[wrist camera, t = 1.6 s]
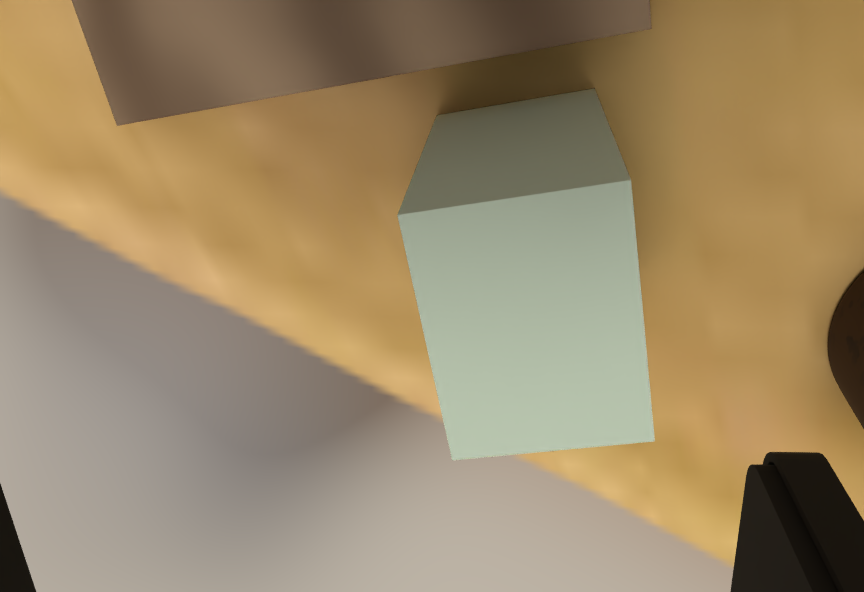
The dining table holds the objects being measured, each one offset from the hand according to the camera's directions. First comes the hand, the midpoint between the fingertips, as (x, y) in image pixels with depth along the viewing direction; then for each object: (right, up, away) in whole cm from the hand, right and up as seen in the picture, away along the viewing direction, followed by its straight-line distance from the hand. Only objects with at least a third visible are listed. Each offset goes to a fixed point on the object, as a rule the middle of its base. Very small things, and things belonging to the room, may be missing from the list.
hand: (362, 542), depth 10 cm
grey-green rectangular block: (+5, +7, +22) cm, 24 cm away
